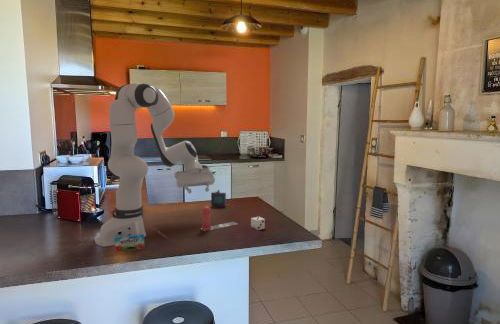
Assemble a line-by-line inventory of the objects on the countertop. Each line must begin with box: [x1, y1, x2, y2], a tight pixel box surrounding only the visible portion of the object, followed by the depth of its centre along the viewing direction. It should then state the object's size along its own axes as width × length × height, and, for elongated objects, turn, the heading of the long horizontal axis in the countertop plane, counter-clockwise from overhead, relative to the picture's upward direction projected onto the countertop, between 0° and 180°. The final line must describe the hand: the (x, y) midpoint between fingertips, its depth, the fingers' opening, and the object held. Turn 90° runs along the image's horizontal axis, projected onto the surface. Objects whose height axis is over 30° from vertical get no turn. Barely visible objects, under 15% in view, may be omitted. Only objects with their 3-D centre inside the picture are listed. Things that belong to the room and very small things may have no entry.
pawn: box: [201, 205, 212, 231], centre depth 174 cm, size 5×5×11 cm
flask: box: [210, 189, 227, 208], centre depth 220 cm, size 9×3×11 cm, turn 88°
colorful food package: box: [114, 234, 146, 253], centre depth 150 cm, size 12×2×6 cm, turn 108°
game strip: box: [200, 221, 238, 232], centre depth 179 cm, size 22×12×1 cm, turn 125°
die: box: [250, 216, 266, 231], centre depth 179 cm, size 5×5×5 cm
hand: (198, 191), depth 184 cm, fingers open, 8 cm apart
